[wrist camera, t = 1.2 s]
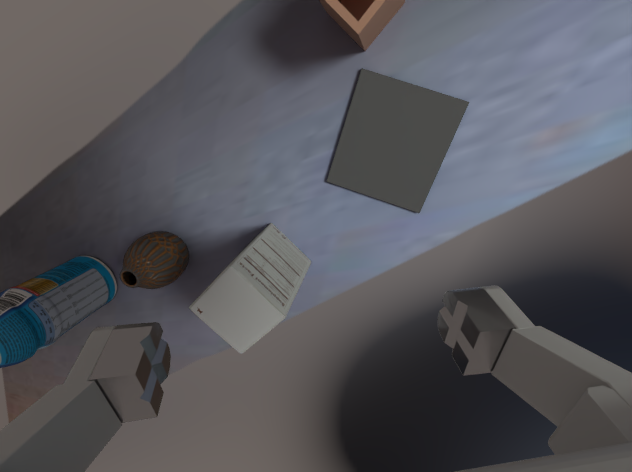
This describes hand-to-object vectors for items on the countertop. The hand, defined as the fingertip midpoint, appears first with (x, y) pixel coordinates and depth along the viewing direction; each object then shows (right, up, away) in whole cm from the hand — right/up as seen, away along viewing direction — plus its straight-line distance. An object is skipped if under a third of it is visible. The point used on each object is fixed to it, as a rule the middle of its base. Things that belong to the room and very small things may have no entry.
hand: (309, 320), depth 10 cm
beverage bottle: (-33, -4, +41) cm, 53 cm away
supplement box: (-5, 0, +34) cm, 34 cm away
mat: (+8, +12, +26) cm, 30 cm away
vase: (-19, +1, +36) cm, 41 cm away
